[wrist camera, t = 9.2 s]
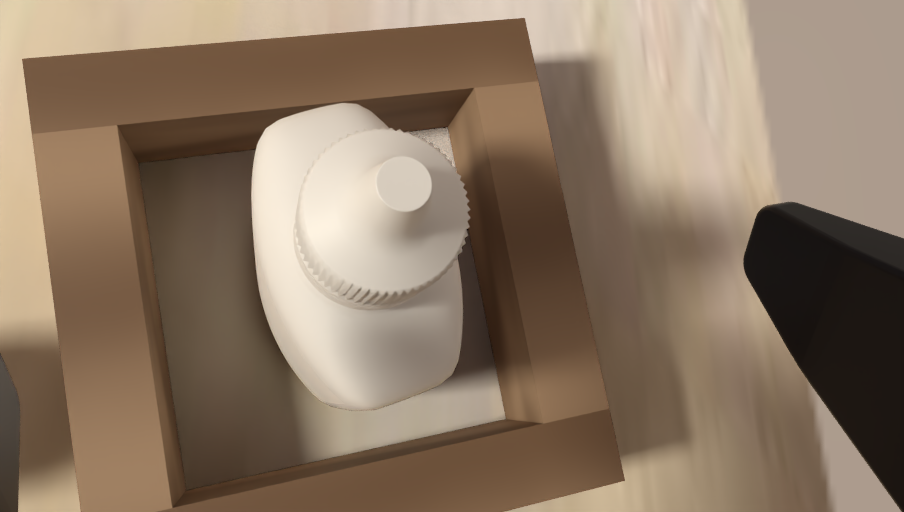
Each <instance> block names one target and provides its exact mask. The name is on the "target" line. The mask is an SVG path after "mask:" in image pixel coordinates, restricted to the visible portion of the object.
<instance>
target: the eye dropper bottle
mask: <svg viewBox="0 0 904 512" xmlns="http://www.w3.org/2000/svg"><path fill="white" fill-rule="evenodd" d="M456 170H457V168H455V167H453V166H452V161H450V160H447V159H446V155H445V154H442V153H440V149H439V148H434V146H433V144H432V143H427V142H426V140H425V138H423V139H420V138H419V137H418V136H417V134H416V135H411V134H410V133H409V131H408V132H405V133H404V132H403V131H401V130H400V129H399V130H397V131H395V130H394V129H392V128H390V129H389V128H388V127H387V125H386V124H385V123H384V122H383V121H381V120H380V119H379V118H378V117H377V116H376V115H375V114H373V113H372V112H371V111H370V110H368V109H366V108H364V107H362V106H360V105H358V104H352V103H339V104H333V105H328V106H323V107H319V108H315V109H311V110H308V111H304V112H300V113H297V114H294V115H291V116H288V117H285V118H282V119H280V120H278V121H276V122H275V123H273V124H272V125H270V126H269V127H267V128H266V129H265V131H264V132H263V134H262V136H261V138H260V139H259V141H258V144H257V147H256V152H255V157H254V162H253V172H252V189H251V203H252V226H253V239H254V251H255V262H256V272H257V281H258V287H259V292H260V297H261V301H262V305H263V308H264V312H265V315H266V318H267V321H268V324H269V326H270V329H271V331H272V334H273V336H274V338H275V340H276V342H277V344H278V346H279V348H280V350H281V352H282V354H283V355H284V357H285V359H286V360H287V362H288V363H289V365H290V366H291V368H292V369H293V371H294V372H295V374H296V375H297V376H298V378H299V379H300V380H301V381H302V383H303V384H304V385H305V386H306V387H307V388H308V390H309V391H310V392H311V393H312V394H313V395H314V396H315V397H316V398H317V399H318V400H319V401H321V402H323V403H325V404H327V405H329V406H332V407H336V408H340V409H345V410H351V411H363V410H376V409H379V408H382V407H385V406H388V405H391V404H394V403H397V402H399V401H402V400H405V399H407V398H410V397H412V396H415V395H418V394H420V393H423V392H425V391H427V390H430V389H432V388H434V387H436V386H439V385H440V384H442V383H443V382H444V381H445V380H446V379H448V378H449V377H450V376H451V375H452V374H453V372H454V370H455V367H456V365H457V363H458V361H459V355H460V348H461V340H462V327H463V299H462V285H461V276H460V269H459V263H458V254H460V253H461V252H462V246H463V245H464V244H466V243H465V239H464V238H465V237H467V236H468V233H467V229H468V228H469V227H470V226H469V224H468V222H467V221H468V220H469V219H470V216H469V214H468V213H467V212H468V211H469V210H471V209H470V208H469V207H468V205H467V203H468V202H469V200H468V199H467V197H466V194H467V191H466V190H465V189H464V188H463V187H464V185H465V184H464V183H463V182H462V181H460V178H461V176H460V175H459V174H457V173H456Z"/></svg>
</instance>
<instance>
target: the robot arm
mask: <svg viewBox="0 0 904 512" xmlns="http://www.w3.org/2000/svg"><path fill="white" fill-rule="evenodd" d="M743 264H744V270H745V273H746V276H747V278H748V280H749V282H750V283H751V285H752V287H753V289H754V290H755V292H756V294H757V295H758V297H759V299H760V301H761V302H762V304H763V306H764V308H765V309H766V311H767V313H768V315H769V316H770V318H771V320H772V322H773V323H774V325H775V327H776V329H777V330H778V332H779V334H780V336H781V337H782V339H783V341H784V343H785V344H786V346H787V348H788V350H789V351H790V353H791V355H792V356H793V358H794V360H795V361H796V363H797V365H798V366H799V368H800V369H801V371H802V372H803V374H804V375H805V377H806V378H807V380H808V381H809V383H810V384H811V386H812V387H813V388H814V390H815V391H816V392H817V394H818V395H819V397H820V398H821V399H822V401H823V402H824V404H825V405H826V406H827V408H828V409H829V411H830V412H831V413H832V415H833V416H834V418H835V419H836V420H837V422H838V423H839V425H840V426H841V427H842V429H843V430H844V432H845V433H846V434H847V436H848V437H849V439H850V440H851V441H852V443H853V444H854V446H855V447H856V448H857V450H858V451H859V453H860V454H861V455H862V457H863V458H864V459H865V461H866V462H867V464H868V465H869V466H870V468H871V469H872V471H873V472H874V473H875V475H876V476H877V478H878V479H879V481H880V482H881V483H882V485H883V486H884V488H885V489H886V490H887V492H888V493H889V495H890V496H891V497H892V499H893V500H894V502H895V503H896V504H897V506H898V507H899V509H900V510H901V511H902V512H904V238H901V237H898V236H894V235H892V234H889V233H886V232H882V231H879V230H877V229H874V228H870V227H867V226H865V225H861V224H859V223H856V222H853V221H850V220H847V219H844V218H841V217H838V216H835V215H832V214H829V213H826V212H823V211H820V210H817V209H814V208H811V207H808V206H805V205H802V204H799V203H795V202H785V203H779V204H773V205H767V206H765V207H763V208H762V209H761V210H760V211H759V212H758V214H757V216H756V219H755V222H754V225H753V228H752V232H751V235H750V238H749V241H748V245H747V248H746V251H745V254H744V262H743ZM19 447H20V404H19V398H18V394H17V391H16V388H15V386H14V384H13V381H12V379H11V377H10V375H9V372H8V370H7V368H6V365H5V363H4V361H3V358H2V356H1V354H0V512H18V490H19Z"/></svg>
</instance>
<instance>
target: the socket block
mask: <svg viewBox="0 0 904 512" xmlns="http://www.w3.org/2000/svg"><path fill="white" fill-rule="evenodd" d="M22 61H23V69H24V77H25V84H26V92H27V100H28V107H29V115H30V123H31V131H32V138H33V146H34V154H35V161H36V169H37V177H38V185H39V192H40V200H41V208H42V215H43V223H44V231H45V239H46V246H47V254H48V262H49V269H50V277H51V285H52V293H53V300H54V308H55V316H56V323H57V331H58V339H59V347H60V354H61V362H62V370H63V377H64V385H65V393H66V401H67V408H68V416H69V424H70V431H71V439H72V447H73V455H74V462H75V470H76V478H77V485H78V493H79V501H80V509H81V512H504V511H508V510H512V509H516V508H520V507H524V506H528V505H531V504H535V503H539V502H543V501H547V500H551V499H555V498H559V497H563V496H567V495H571V494H574V493H578V492H582V491H586V490H590V489H594V488H598V487H602V486H606V485H610V484H614V483H618V482H621V481H625V479H624V474H623V470H622V465H621V460H620V456H619V451H618V446H617V442H616V437H615V433H614V428H613V423H612V419H611V414H610V410H609V405H608V400H607V396H606V391H605V386H604V382H603V377H602V373H601V368H600V363H599V359H598V354H597V350H596V345H595V340H594V336H593V331H592V326H591V322H590V317H589V313H588V308H587V303H586V299H585V294H584V290H583V285H582V280H581V276H580V271H579V266H578V262H577V257H576V253H575V248H574V243H573V239H572V234H571V230H570V225H569V220H568V216H567V211H566V207H565V202H564V197H563V193H562V188H561V183H560V179H559V174H558V170H557V165H556V160H555V156H554V151H553V147H552V142H551V137H550V133H549V128H548V123H547V119H546V114H545V110H544V105H543V100H542V96H541V91H540V87H539V82H538V77H537V73H536V68H535V63H534V59H533V54H532V50H531V45H530V40H529V36H528V31H527V27H526V22H525V18H519V19H507V20H494V21H482V22H470V23H458V24H445V25H433V26H421V27H408V28H396V29H384V30H371V31H359V32H347V33H335V34H322V35H310V36H298V37H285V38H273V39H261V40H249V41H236V42H224V43H212V44H199V45H187V46H175V47H162V48H150V49H138V50H126V51H113V52H101V53H89V54H76V55H64V56H52V57H40V58H27V59H22ZM339 103H352V104H358V105H360V106H362V107H364V108H366V109H368V110H370V111H371V112H372V113H373V114H375V115H376V116H377V117H378V118H379V119H380V120H381V121H383V122H384V123H385V124H386V125H387V127H388V128H389V129H390V128H392V129H394V130H395V131H397V130H399V129H400V130H401V131H403V132H407V131H415V130H424V129H432V128H441V127H448V130H449V135H450V140H451V145H452V150H453V155H454V160H455V165H456V168H457V174H459V175H460V176H461V178H460V181H462V182H463V183H464V184H465V185H464V187H463V188H464V189H465V190H466V191H467V194H466V197H467V199H468V200H469V202H468V203H467V205H468V207H469V208H470V209H471V210H469V211H468V212H467V213H468V214H469V216H470V219H469V220H468V221H467V222H468V224H469V226H470V227H469V228H468V230H469V235H470V241H471V246H472V251H473V256H474V261H475V266H476V271H477V276H478V281H479V286H480V291H481V296H482V301H483V306H484V311H485V316H486V321H487V326H488V331H489V336H490V341H491V346H492V351H493V356H494V361H495V366H496V371H497V376H498V381H499V386H500V391H501V396H502V401H503V406H504V411H505V416H506V419H505V420H500V421H496V422H491V423H487V424H482V425H478V426H473V427H469V428H464V429H460V430H455V431H451V432H447V433H442V434H438V435H433V436H429V437H424V438H420V439H415V440H411V441H406V442H402V443H397V444H393V445H388V446H384V447H379V448H375V449H370V450H366V451H361V452H357V453H352V454H348V455H343V456H339V457H334V458H330V459H325V460H321V461H316V462H312V463H307V464H303V465H299V466H294V467H290V468H285V469H281V470H276V471H272V472H267V473H263V474H258V475H254V476H249V477H245V478H240V479H236V480H231V481H227V482H222V483H218V484H213V485H209V486H204V487H200V488H195V489H191V490H186V485H185V478H184V472H183V465H182V458H181V451H180V444H179V438H178V431H177V424H176V417H175V410H174V403H173V397H172V390H171V383H170V376H169V369H168V363H167V356H166V349H165V342H164V335H163V329H162V322H161V315H160V308H159V301H158V294H157V288H156V281H155V274H154V267H153V260H152V254H151V247H150V240H149V233H148V226H147V219H146V213H145V206H144V199H143V192H142V185H141V179H140V172H139V165H138V163H142V162H150V161H159V160H167V159H176V158H184V157H193V156H201V155H210V154H219V153H227V152H236V151H244V150H253V149H256V147H257V144H258V141H259V139H260V138H261V136H262V134H263V132H264V131H265V129H266V128H267V127H269V126H270V125H272V124H273V123H275V122H276V121H278V120H280V119H282V118H285V117H288V116H291V115H294V114H297V113H300V112H304V111H308V110H311V109H315V108H319V107H323V106H328V105H333V104H339Z"/></svg>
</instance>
